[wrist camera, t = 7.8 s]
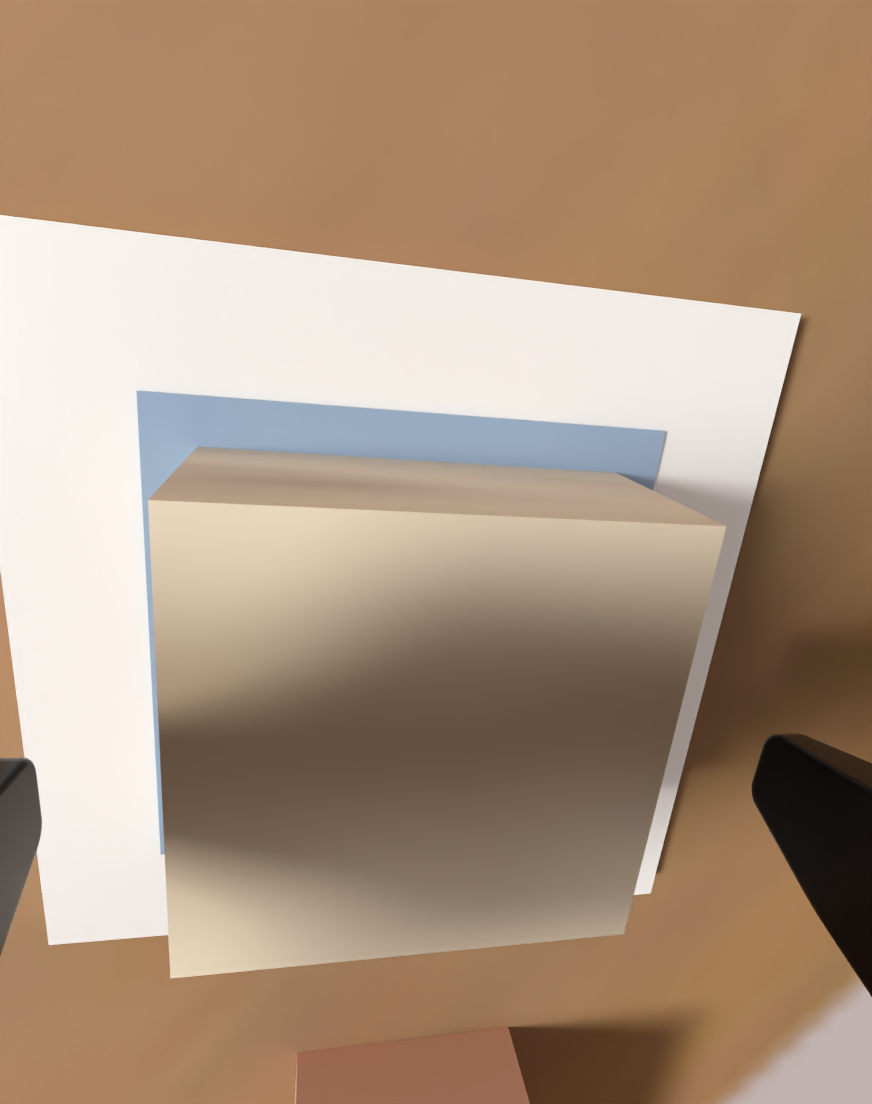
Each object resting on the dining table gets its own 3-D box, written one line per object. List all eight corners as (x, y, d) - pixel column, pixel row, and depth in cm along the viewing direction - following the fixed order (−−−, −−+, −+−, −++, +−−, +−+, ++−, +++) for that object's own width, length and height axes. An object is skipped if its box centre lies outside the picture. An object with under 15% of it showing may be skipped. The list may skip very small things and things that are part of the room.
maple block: (554, 799, 13) (624, 934, 10) (205, 815, 11) (170, 978, 8) (616, 472, 10) (727, 526, 8) (197, 446, 9) (147, 500, 6)
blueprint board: (639, 875, 15) (652, 897, 14) (58, 921, 12) (46, 950, 12) (779, 313, 11) (805, 313, 10) (-26, 215, 8) (-51, 208, 8)
